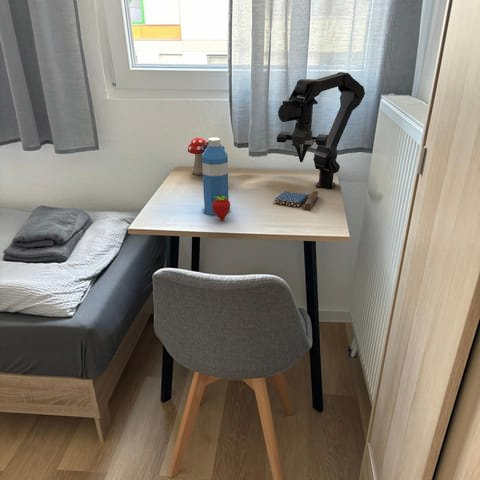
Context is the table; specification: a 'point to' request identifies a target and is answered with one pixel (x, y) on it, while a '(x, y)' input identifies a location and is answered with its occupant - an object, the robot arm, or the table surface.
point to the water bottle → (214, 173)
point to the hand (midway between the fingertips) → (301, 162)
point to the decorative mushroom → (197, 154)
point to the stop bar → (311, 200)
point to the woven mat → (291, 198)
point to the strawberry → (221, 207)
